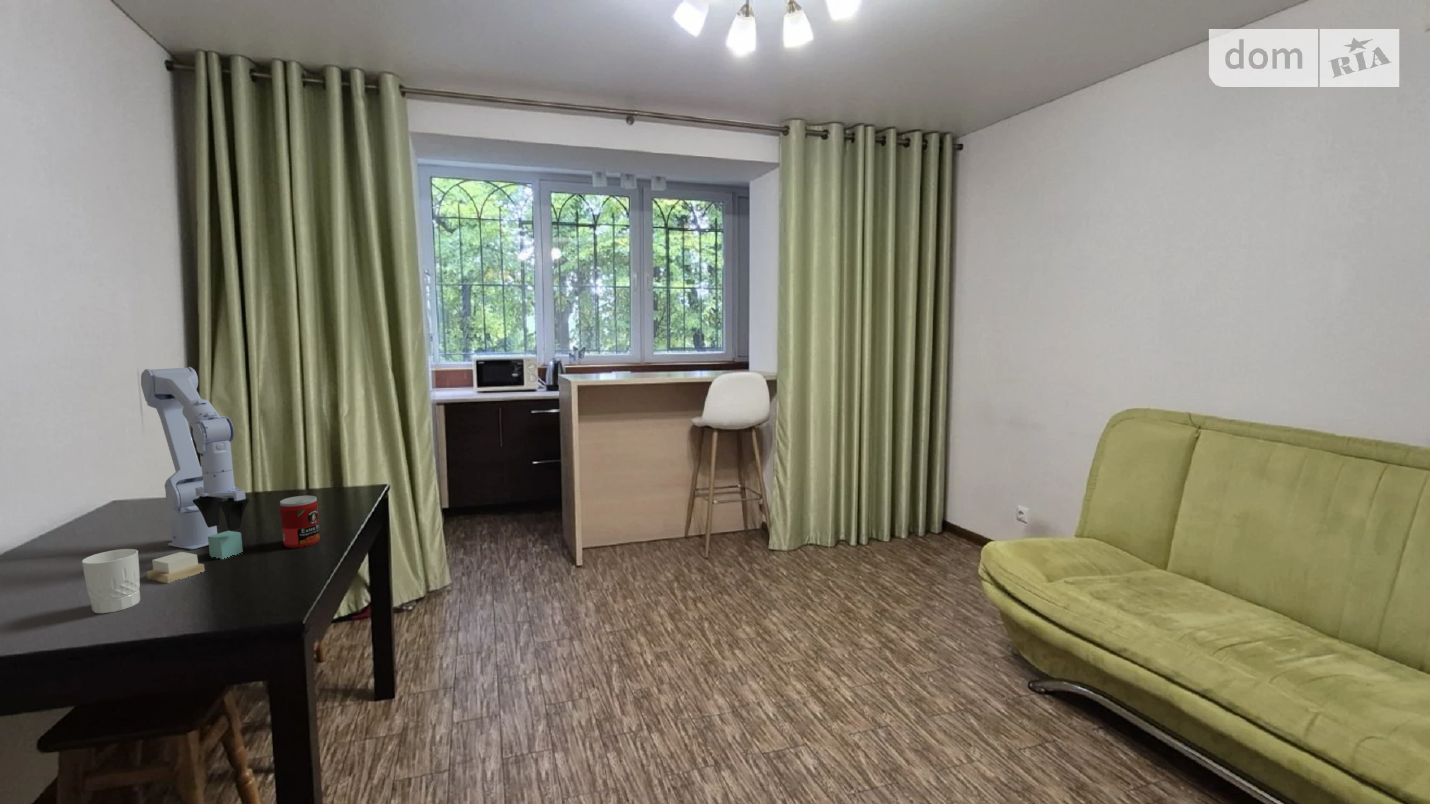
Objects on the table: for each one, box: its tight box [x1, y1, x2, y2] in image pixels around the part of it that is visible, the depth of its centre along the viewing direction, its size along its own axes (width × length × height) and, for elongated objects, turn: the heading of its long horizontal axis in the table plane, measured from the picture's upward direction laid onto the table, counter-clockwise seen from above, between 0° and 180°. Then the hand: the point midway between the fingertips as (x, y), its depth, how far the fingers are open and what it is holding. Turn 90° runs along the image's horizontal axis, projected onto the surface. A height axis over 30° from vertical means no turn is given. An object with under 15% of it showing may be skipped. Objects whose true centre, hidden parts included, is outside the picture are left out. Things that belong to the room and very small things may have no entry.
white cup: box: [81, 548, 141, 614], centre depth 124 cm, size 8×8×10 cm
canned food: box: [279, 495, 321, 549], centre depth 160 cm, size 8×8×11 cm
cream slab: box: [151, 551, 199, 573], centre depth 140 cm, size 6×6×2 cm
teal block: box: [208, 530, 244, 560], centre depth 152 cm, size 4×4×5 cm
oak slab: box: [146, 562, 206, 584], centre depth 140 cm, size 7×7×2 cm
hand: (223, 527), depth 152 cm, fingers open, 7 cm apart
